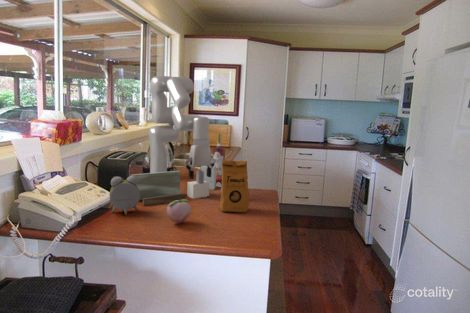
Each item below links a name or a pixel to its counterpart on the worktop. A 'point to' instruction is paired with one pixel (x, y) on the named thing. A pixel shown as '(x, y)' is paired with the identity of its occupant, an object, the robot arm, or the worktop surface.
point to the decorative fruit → (179, 210)
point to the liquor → (219, 158)
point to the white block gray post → (198, 186)
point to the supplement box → (210, 179)
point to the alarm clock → (124, 193)
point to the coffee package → (234, 187)
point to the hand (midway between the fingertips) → (200, 177)
